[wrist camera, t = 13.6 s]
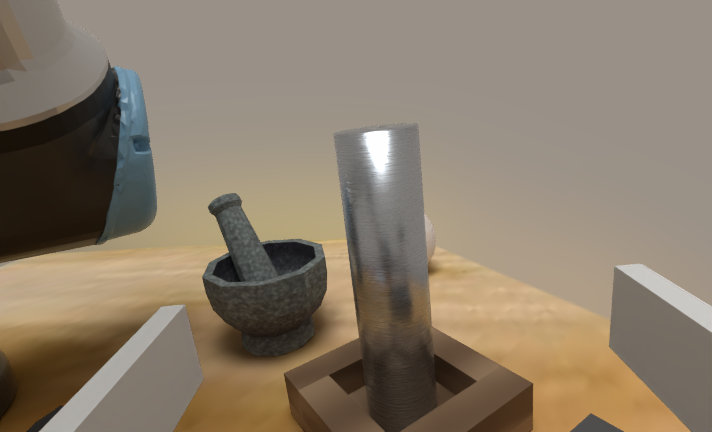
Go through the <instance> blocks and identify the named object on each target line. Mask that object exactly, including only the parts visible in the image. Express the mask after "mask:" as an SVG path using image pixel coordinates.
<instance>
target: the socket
mask: <svg viewBox="0 0 712 432" xmlns="http://www.w3.org/2000/svg"><path fill="white" fill-rule="evenodd" d="M571 432H624V431H622V430H620V429H618V428H616V427H615V426H613V425H611V424H609V423H607V422H606V421H604V420H602V419H600V418H598V417H597V416H595V415H593V414H590V415H588V416H587V417H586V418H585V419H584V420H583V421H582V422H581V423H579V424H578V425H577V426H576V427H575V428H574V429H573V430H572V431H571Z"/></svg>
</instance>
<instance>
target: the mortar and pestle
mask: <svg viewBox="0 0 712 432" xmlns="http://www.w3.org/2000/svg"><path fill="white" fill-rule="evenodd" d="M241 202H242V201H241V199H240V197H239V196H238V195H237V194H236V193H232V194H225V195H222V196H220V197H218V198H216V199H215V200H213V201H212V202H211V203H210V205H209V206H208V209H209V211H210V213H211V214H213V215H214V216H215V217H216V219H217V222H218V224H219V227H220V230H221V232H222V235H223V237H224V240H225V242H226V245H227V248H228V250H229V253H227V254H225V255H223V256H221V257H219V258H217V259H215V260H213V261H212V262H210V263H209V264H208V266H207V268H206V271H205V273H204V275H203V277H202V278H203V283H204V287H205V291H206V294H207V297H208V299H209V301H210V304H211V306H212V308H213V310H214V311H215V312H216V313H217V314H218V315H219V316H220V317H221V318H222V319H223V320H224V321H225V322H226V323H228V324H229V325H231V326H233V327H234V328H236V329H238V330H239V331H241V332H242V345H243V348H244V349H246V350H247V351H249V352H250V353H252V354H253V355H255V356H280V355H282V354H285V353H287V352H290V351H293V350H295V349H298V348H301V347H303V346H304V345H305V344H306V342H307V341H308V340H309V339H310V338H311V337H312V336H313V335H314V334H315V331H314V323H313V318H312V314H313V313H314V312H315V311H316V310H317V309H318V307H319V306H320V305H321V303H322V300H323V298H324V295H325V293H326V290H327V268H326V261H325V256H324V252H323V248H322V244H318V243H314V242H310V241H306V240H302V239H290V240H273V241H265V242H260V240H259V239H258V237H257V235H256V233H255V231H254V230H253V228H252V226H251V224H250V222H249V220H248V218H247V217H246V215H245V213H244V211H243V210H242V208H241Z"/></svg>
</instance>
